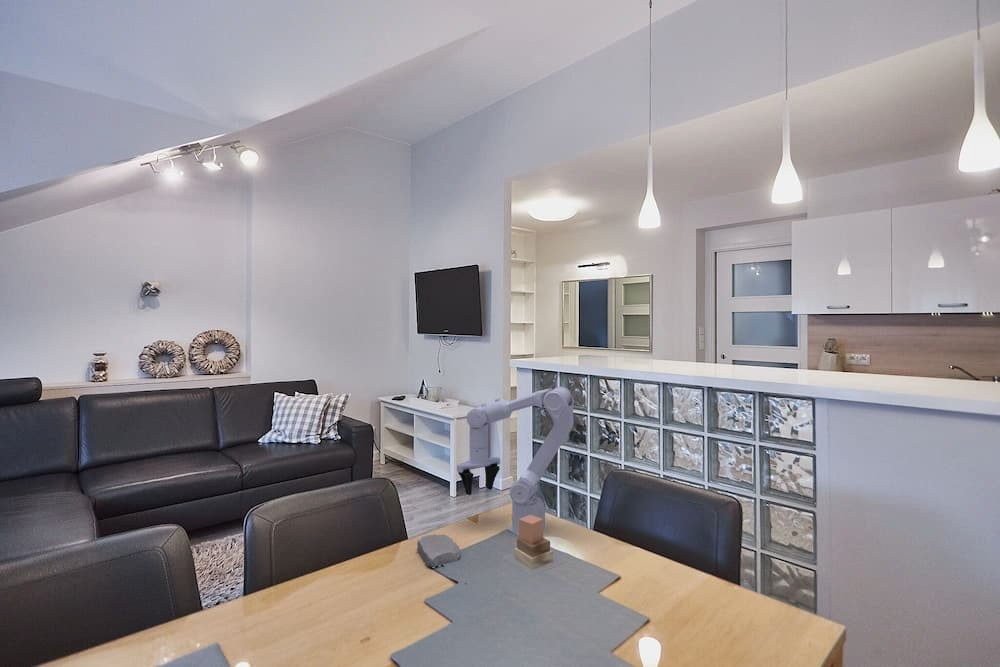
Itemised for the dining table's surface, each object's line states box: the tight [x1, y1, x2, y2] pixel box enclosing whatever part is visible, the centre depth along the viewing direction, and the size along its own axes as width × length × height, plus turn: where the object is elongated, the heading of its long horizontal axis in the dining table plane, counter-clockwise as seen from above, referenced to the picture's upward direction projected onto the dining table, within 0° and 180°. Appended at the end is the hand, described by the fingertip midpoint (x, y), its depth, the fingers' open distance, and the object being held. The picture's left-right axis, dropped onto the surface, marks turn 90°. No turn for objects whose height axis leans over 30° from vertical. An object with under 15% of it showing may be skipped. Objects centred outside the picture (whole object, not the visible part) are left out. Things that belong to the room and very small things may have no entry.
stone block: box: [416, 533, 462, 568], centre depth 129 cm, size 12×5×10 cm
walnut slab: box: [516, 537, 551, 557], centre depth 126 cm, size 6×6×2 cm
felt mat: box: [500, 552, 567, 577], centre depth 126 cm, size 12×12×1 cm
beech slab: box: [513, 547, 554, 569], centre depth 126 cm, size 7×7×2 cm
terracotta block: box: [518, 515, 544, 544], centre depth 127 cm, size 4×4×5 cm
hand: (479, 491), depth 150 cm, fingers open, 7 cm apart
